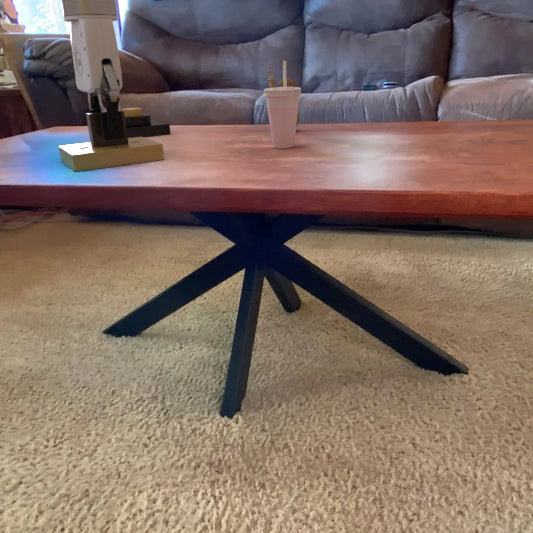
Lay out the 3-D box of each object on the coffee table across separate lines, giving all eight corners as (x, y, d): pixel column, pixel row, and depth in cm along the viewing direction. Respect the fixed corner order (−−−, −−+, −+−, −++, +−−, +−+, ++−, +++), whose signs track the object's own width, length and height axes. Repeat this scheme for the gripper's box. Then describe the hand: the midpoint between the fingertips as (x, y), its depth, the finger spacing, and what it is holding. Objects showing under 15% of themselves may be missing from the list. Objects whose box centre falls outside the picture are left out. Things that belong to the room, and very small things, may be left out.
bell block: (113, 141, 101) (110, 120, 100) (100, 135, 109) (97, 116, 108) (170, 134, 107) (168, 114, 105) (154, 129, 115) (152, 111, 113)
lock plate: (74, 171, 75) (71, 153, 74) (61, 161, 83) (58, 144, 82) (164, 159, 82) (162, 142, 81) (143, 150, 90) (141, 135, 89)
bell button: (126, 119, 104) (125, 110, 104) (120, 117, 107) (119, 108, 107) (145, 117, 106) (144, 108, 105) (139, 115, 109) (138, 107, 109)
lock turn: (94, 147, 80) (88, 112, 78) (91, 145, 81) (85, 111, 79) (128, 143, 82) (124, 109, 80) (124, 141, 84) (120, 108, 82)
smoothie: (309, 146, 89) (309, 59, 83) (279, 151, 85) (277, 61, 80) (286, 142, 94) (285, 60, 88) (258, 146, 90) (254, 61, 85)
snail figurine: (274, 129, 110) (272, 69, 105) (302, 129, 107) (302, 68, 103) (265, 132, 105) (263, 70, 100) (294, 133, 103) (294, 70, 98)
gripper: (51, 14, 79) (72, 133, 86) (76, 4, 66) (99, 146, 73) (100, 14, 83) (116, 128, 90) (133, 5, 69) (149, 140, 76)
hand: (108, 135), depth 81 cm, fingers open, 5 cm apart
